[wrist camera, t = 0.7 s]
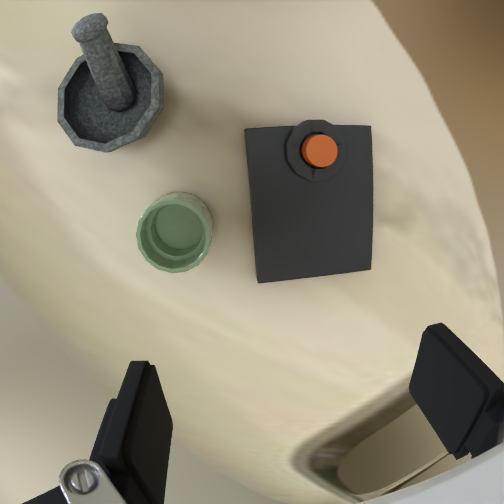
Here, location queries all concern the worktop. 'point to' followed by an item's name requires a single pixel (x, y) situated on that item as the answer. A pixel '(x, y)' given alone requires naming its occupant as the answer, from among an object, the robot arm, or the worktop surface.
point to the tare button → (319, 150)
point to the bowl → (175, 232)
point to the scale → (310, 202)
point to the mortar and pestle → (108, 90)
